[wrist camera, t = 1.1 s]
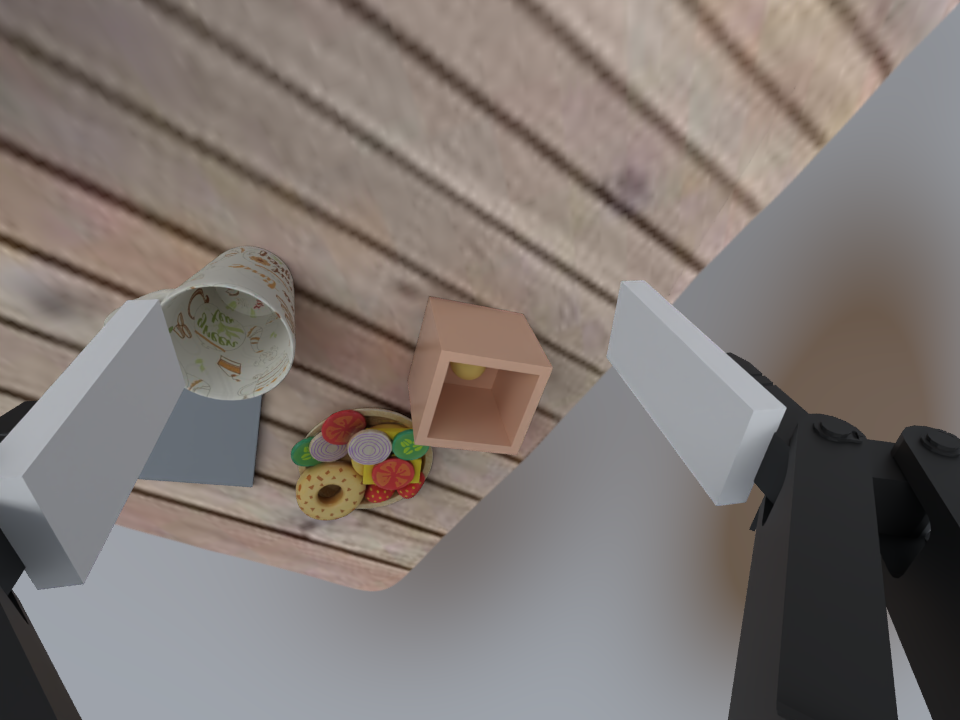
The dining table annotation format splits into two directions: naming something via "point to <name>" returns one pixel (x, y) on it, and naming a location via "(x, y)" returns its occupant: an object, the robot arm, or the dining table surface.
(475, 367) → the ball
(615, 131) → the dining table surface
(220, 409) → the coaster
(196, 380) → the mug
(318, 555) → the dining table surface
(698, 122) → the dining table surface
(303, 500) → the toy food set
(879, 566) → the robot arm
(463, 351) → the planter
